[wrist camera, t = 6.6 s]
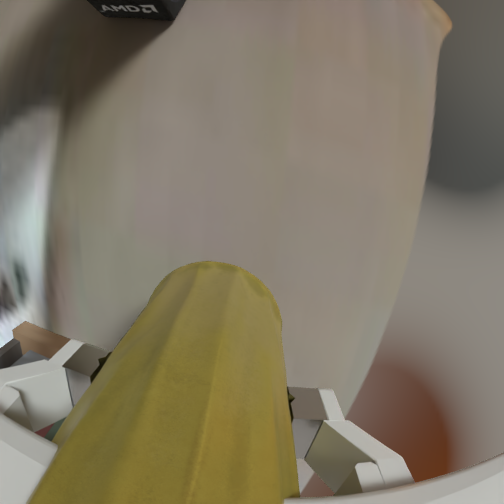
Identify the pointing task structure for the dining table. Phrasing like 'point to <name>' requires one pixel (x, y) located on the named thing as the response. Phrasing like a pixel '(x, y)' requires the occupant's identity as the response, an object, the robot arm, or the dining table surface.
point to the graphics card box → (139, 8)
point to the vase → (184, 403)
